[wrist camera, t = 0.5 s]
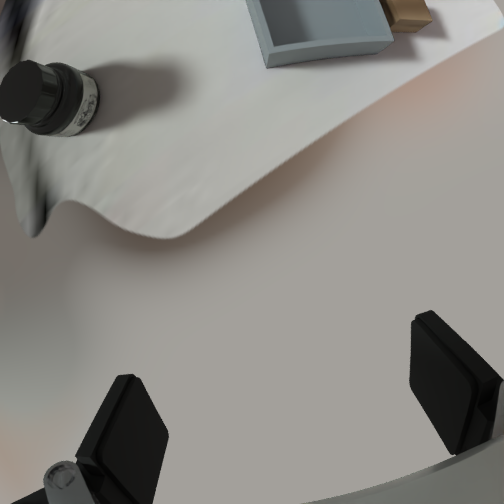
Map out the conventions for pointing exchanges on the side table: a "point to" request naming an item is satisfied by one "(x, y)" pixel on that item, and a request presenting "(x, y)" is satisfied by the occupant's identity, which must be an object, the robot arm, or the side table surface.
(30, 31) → the side table surface
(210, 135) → the side table surface
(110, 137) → the side table surface
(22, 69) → the ink bottle
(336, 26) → the tote
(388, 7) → the walnut cube
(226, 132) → the side table surface
